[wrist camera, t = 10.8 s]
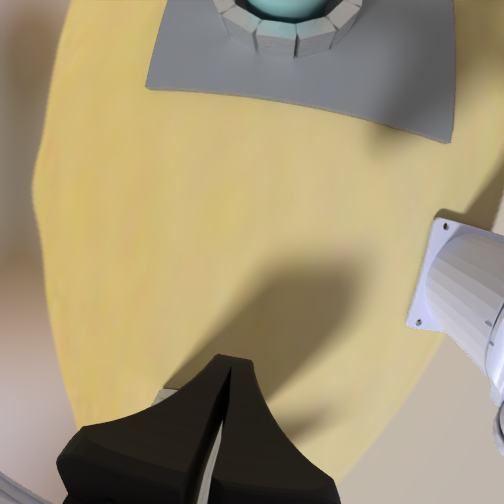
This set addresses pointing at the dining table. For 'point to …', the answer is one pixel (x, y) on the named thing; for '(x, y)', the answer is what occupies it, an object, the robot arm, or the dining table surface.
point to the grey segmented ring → (287, 30)
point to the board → (324, 64)
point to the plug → (287, 10)
